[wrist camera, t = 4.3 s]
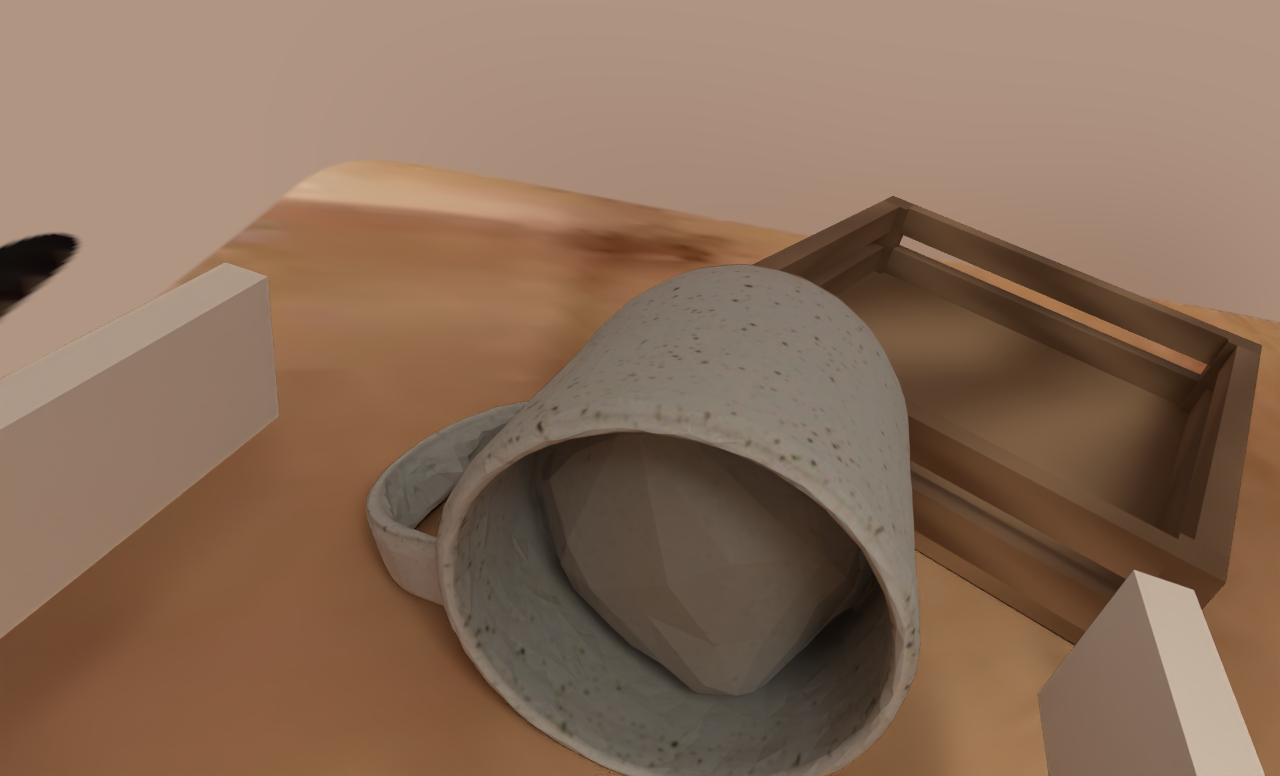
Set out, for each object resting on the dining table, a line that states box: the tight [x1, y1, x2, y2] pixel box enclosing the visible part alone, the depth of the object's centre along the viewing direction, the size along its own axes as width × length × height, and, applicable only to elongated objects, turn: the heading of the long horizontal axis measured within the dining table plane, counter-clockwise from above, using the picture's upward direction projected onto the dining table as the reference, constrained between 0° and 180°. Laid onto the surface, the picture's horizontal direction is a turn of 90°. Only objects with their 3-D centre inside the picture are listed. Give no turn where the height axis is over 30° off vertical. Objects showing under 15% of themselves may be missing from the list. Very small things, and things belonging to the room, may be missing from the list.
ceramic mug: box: [366, 264, 920, 776], centre depth 16 cm, size 11×8×8 cm
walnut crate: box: [753, 196, 1262, 645], centre depth 26 cm, size 14×15×3 cm
